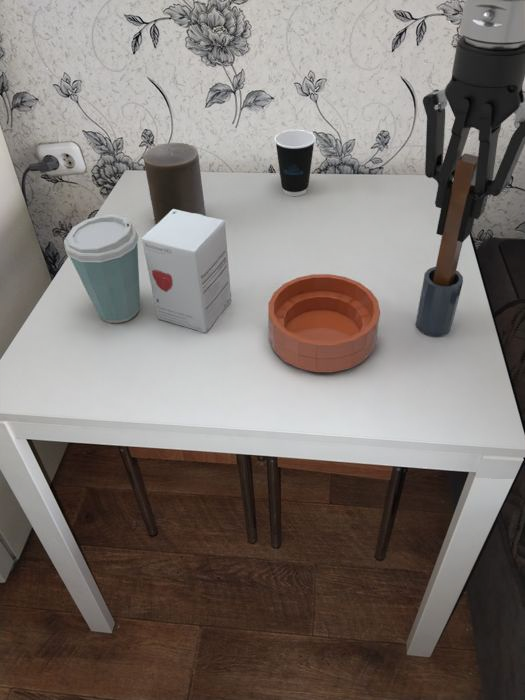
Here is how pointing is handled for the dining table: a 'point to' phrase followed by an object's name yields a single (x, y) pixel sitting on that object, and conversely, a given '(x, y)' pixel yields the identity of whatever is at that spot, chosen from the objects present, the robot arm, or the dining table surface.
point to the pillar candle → (174, 179)
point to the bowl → (323, 322)
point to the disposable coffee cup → (107, 264)
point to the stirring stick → (455, 220)
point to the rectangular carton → (188, 269)
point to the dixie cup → (295, 160)
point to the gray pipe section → (437, 305)
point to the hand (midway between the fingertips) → (453, 233)
